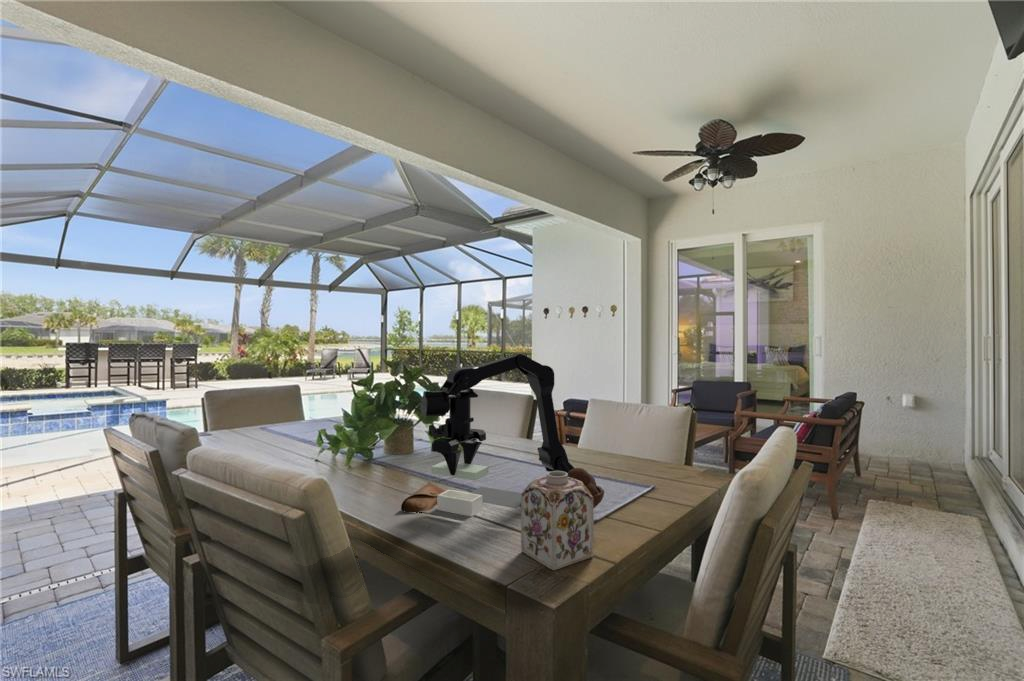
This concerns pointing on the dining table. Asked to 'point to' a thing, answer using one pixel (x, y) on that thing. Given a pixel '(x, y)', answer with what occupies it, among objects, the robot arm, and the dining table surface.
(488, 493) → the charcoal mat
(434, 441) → the robot arm
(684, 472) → the dining table surface
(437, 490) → the sunglasses case
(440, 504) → the white rectangular box
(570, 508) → the decorative jar
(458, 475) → the sage lid
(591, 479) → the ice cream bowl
